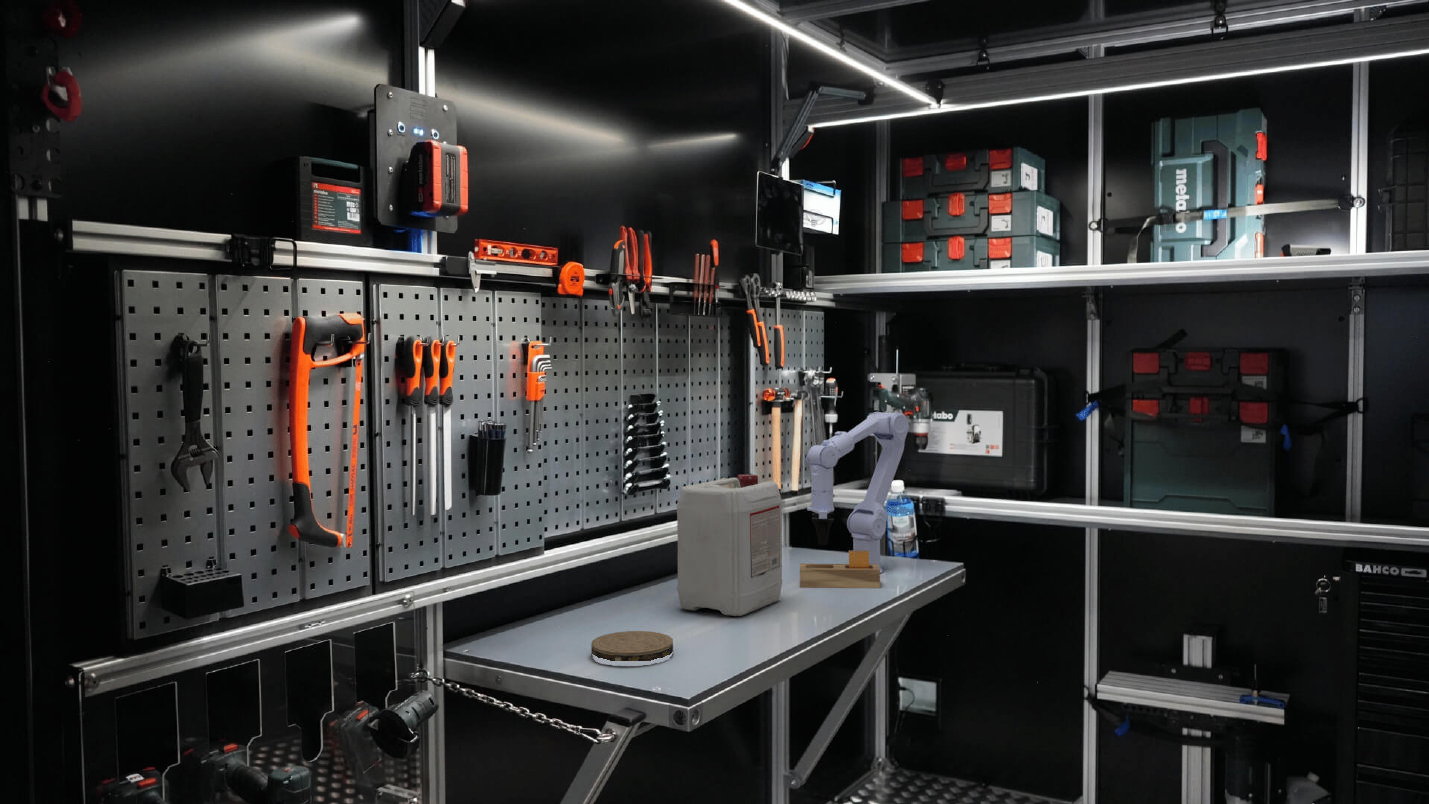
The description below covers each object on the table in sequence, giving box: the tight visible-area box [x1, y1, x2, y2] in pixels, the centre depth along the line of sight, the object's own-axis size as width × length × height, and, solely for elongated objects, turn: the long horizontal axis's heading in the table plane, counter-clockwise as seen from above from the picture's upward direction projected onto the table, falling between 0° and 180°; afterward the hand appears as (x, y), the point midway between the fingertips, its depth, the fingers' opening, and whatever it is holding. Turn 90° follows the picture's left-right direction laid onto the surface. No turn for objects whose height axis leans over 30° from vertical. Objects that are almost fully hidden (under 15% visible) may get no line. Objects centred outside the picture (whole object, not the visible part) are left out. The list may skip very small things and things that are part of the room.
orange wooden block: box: [848, 549, 869, 568], centre depth 258 cm, size 2×5×7 cm, turn 85°
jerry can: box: [676, 474, 783, 617], centre depth 237 cm, size 24×19×30 cm
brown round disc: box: [591, 630, 674, 661], centre depth 197 cm, size 16×16×3 cm
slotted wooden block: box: [799, 563, 881, 589], centre depth 258 cm, size 8×20×4 cm, turn 85°
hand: (822, 542), depth 267 cm, fingers open, 7 cm apart
